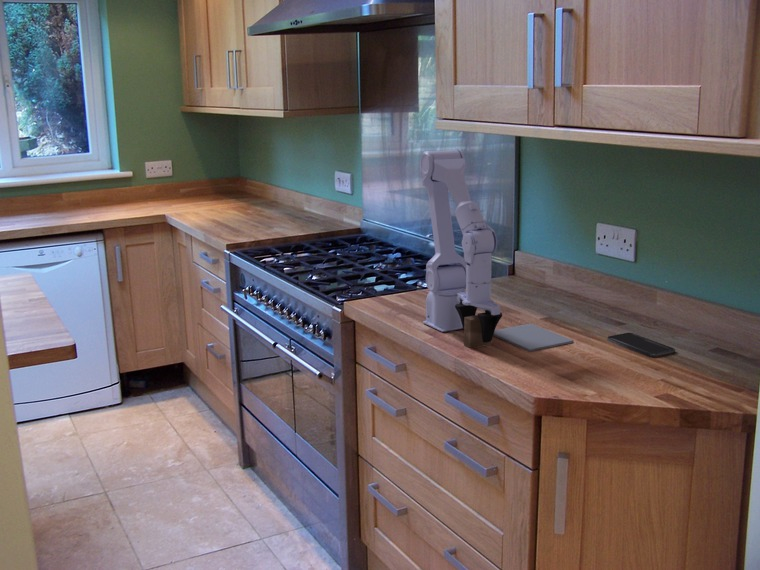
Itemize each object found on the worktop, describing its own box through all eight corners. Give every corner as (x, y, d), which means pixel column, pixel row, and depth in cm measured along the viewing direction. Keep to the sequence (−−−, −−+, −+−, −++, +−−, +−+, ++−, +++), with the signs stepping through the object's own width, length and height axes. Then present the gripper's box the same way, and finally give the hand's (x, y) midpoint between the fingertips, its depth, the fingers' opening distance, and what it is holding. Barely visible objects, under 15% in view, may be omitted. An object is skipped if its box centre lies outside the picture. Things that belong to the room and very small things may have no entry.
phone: (651, 355, 183) (605, 336, 196) (651, 359, 183) (605, 341, 196) (678, 349, 187) (630, 331, 200) (677, 354, 187) (630, 336, 200)
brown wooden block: (463, 345, 193) (464, 317, 192) (484, 341, 196) (485, 313, 195) (470, 348, 191) (470, 319, 190) (491, 344, 194) (491, 316, 192)
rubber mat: (488, 333, 202) (488, 331, 202) (530, 325, 208) (530, 323, 208) (529, 351, 189) (529, 349, 189) (573, 342, 195) (573, 340, 195)
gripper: (446, 276, 194) (446, 331, 198) (482, 290, 182) (481, 348, 185) (471, 273, 197) (470, 327, 201) (508, 285, 185) (507, 343, 188)
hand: (477, 337), depth 193 cm, fingers open, 7 cm apart
